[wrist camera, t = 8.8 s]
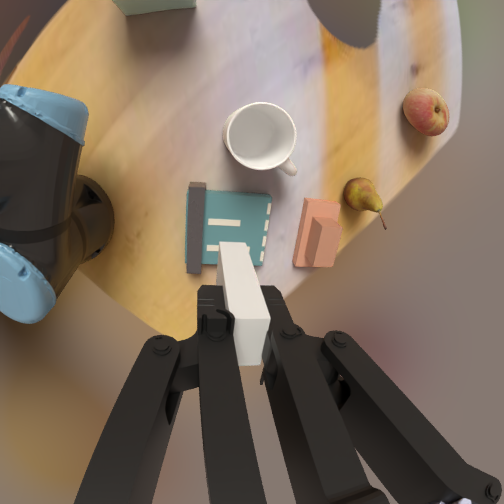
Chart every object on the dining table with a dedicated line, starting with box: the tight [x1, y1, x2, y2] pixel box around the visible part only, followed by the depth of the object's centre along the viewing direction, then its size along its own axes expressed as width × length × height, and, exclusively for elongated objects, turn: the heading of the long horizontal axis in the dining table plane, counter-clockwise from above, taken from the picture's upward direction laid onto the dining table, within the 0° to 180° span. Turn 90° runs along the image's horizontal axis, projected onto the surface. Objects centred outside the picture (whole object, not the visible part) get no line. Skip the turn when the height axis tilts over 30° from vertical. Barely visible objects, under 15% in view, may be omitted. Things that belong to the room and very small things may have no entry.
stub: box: [292, 198, 343, 267], centre depth 45 cm, size 6×12×6 cm, turn 173°
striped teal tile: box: [185, 189, 272, 266], centre depth 44 cm, size 13×12×2 cm
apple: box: [403, 88, 449, 136], centre depth 36 cm, size 9×9×8 cm
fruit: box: [344, 178, 386, 230], centre depth 40 cm, size 6×6×12 cm
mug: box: [223, 102, 297, 176], centre depth 35 cm, size 12×8×10 cm
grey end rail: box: [187, 182, 206, 274], centre depth 43 cm, size 2×14×3 cm, turn 173°
